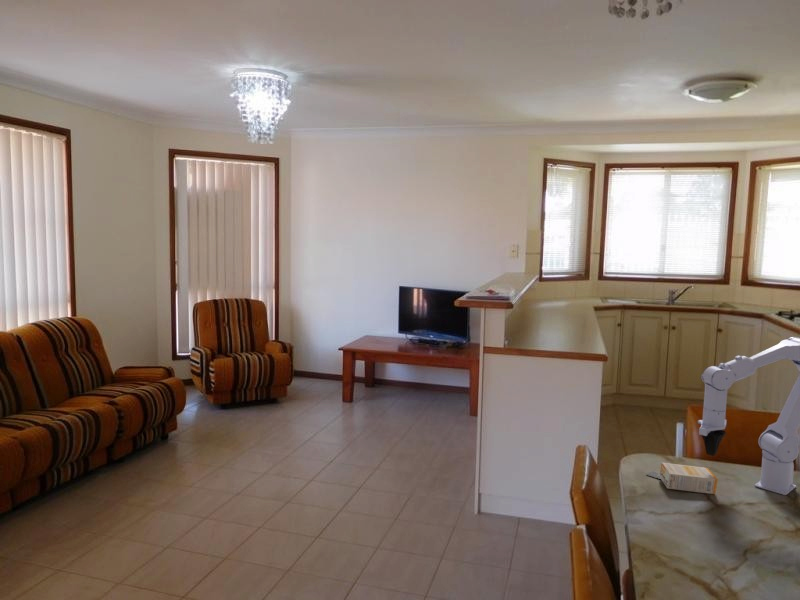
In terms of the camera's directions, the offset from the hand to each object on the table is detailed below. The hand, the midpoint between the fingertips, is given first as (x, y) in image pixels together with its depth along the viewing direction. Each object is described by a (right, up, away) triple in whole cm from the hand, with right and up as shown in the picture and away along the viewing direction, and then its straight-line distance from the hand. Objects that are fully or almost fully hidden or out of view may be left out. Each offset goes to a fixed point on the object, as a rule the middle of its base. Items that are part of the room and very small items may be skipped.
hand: (710, 454), depth 171 cm
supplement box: (0, -7, -2) cm, 7 cm away
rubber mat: (-7, -9, +8) cm, 13 cm away
